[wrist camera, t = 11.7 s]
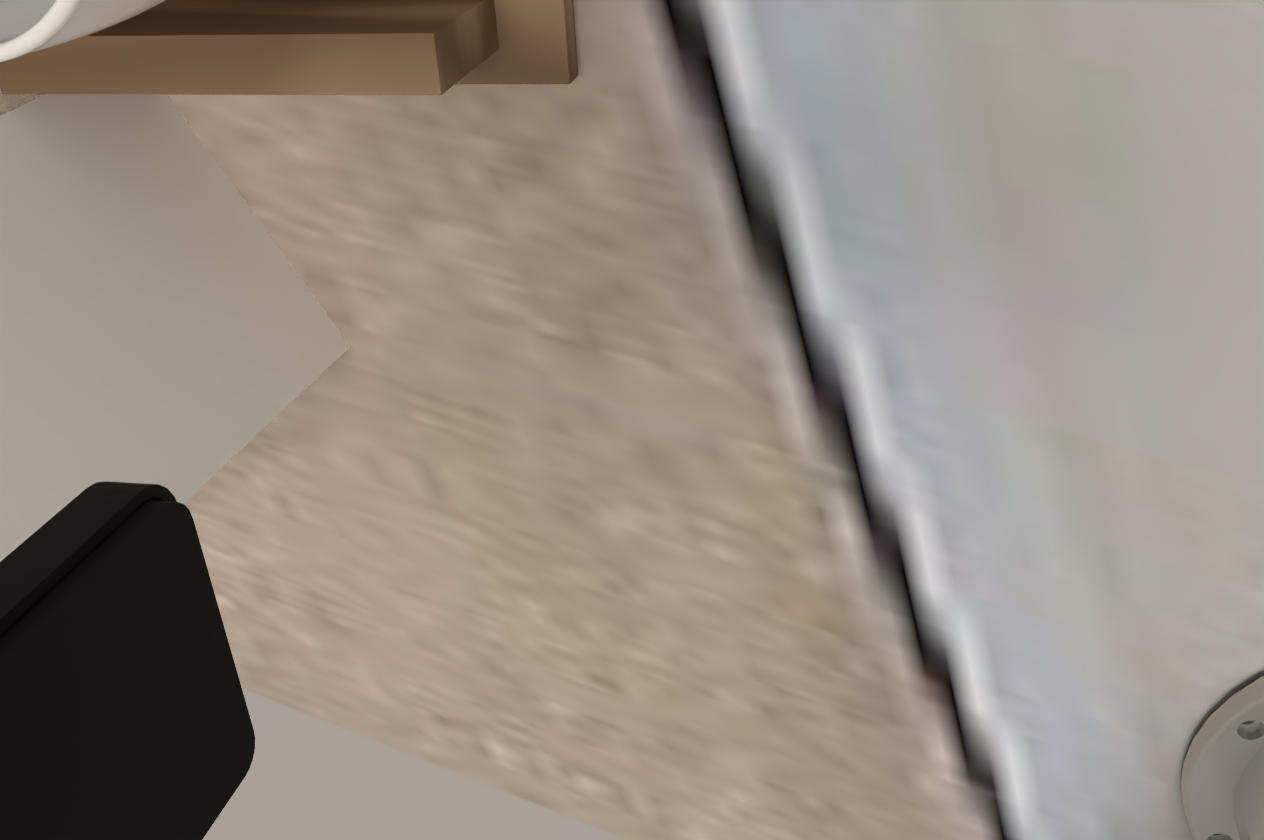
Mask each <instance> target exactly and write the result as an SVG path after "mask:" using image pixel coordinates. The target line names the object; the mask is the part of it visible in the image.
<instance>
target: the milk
mask: <svg viewBox="0 0 1264 840" xmlns="http://www.w3.org/2000/svg"><path fill="white" fill-rule="evenodd" d="M350 347H351V346H350V345H349V344H348V342H347V341H346V339H345V338H344V337H343V335H342V334H341V333H340V331H339V330H338V328H337V327H336V326H335V324H334V323H333V322H332V320H331V319H330V318H329V316H328V315H327V313H326V312H325V311H324V309H323V308H322V307H321V305H320V304H319V302H318V301H317V300H316V298H315V297H314V296H313V294H312V293H311V291H310V290H309V289H308V287H307V286H306V285H305V283H304V282H303V280H302V279H301V278H300V276H299V275H298V274H297V272H296V271H295V269H294V268H293V267H292V265H291V264H290V263H289V261H288V260H287V258H286V257H285V256H284V254H283V253H282V252H281V250H280V249H279V247H278V246H277V245H276V243H275V242H274V241H273V239H272V238H271V236H270V235H269V234H268V232H267V231H266V230H265V228H264V227H263V225H262V224H261V223H260V221H259V220H258V219H257V217H256V216H255V214H254V213H253V212H252V210H251V209H250V208H249V206H248V205H247V203H246V202H245V201H244V199H243V198H242V197H241V195H240V194H239V192H238V191H237V190H236V188H235V187H234V186H233V184H232V183H231V181H230V180H229V179H228V177H227V176H226V175H225V173H224V172H223V170H222V169H221V168H220V166H219V165H218V164H217V162H216V161H215V159H214V158H213V157H212V155H211V154H210V153H209V151H208V150H207V148H206V147H205V146H204V144H203V143H202V142H201V140H200V139H199V137H198V136H197V135H196V133H195V132H194V131H193V129H192V128H191V126H190V125H189V124H188V122H187V121H186V120H185V118H184V117H183V115H182V114H181V113H180V111H179V110H178V109H177V107H176V106H175V104H174V103H173V102H172V100H171V99H170V98H169V96H168V95H167V94H44V95H42V96H40V97H38V98H36V99H34V100H32V101H30V102H28V103H26V104H24V105H22V106H20V107H18V108H15V109H13V110H11V111H9V112H7V113H5V114H3V115H1V116H0V562H1V561H2V560H3V559H4V558H5V557H6V556H8V555H9V554H10V553H11V552H12V551H14V550H15V549H16V548H17V547H18V546H19V545H21V544H22V543H23V542H24V541H25V540H26V539H28V538H29V537H30V536H31V535H32V534H33V533H35V532H36V531H37V530H38V529H39V528H40V527H42V526H43V525H44V524H45V523H46V522H47V521H49V520H50V519H51V518H52V517H53V516H55V515H56V514H57V513H58V512H59V511H60V510H62V509H63V508H64V507H65V506H66V505H67V504H69V503H70V502H71V501H72V500H73V499H74V498H76V497H77V496H78V495H79V494H80V493H81V492H83V491H84V490H85V489H86V488H88V487H89V486H91V485H93V484H94V483H96V482H105V481H108V482H125V483H142V484H159V485H161V486H163V487H166V488H168V489H169V491H170V492H171V493H172V494H173V495H174V496H175V499H176V501H177V502H179V503H182V504H184V503H185V502H186V501H187V500H188V499H189V498H191V497H192V496H193V495H194V494H195V493H196V492H197V491H198V490H199V489H200V488H201V487H202V486H203V485H204V484H205V483H206V482H208V481H209V480H210V479H211V478H212V477H213V476H214V475H215V474H216V473H217V472H218V471H219V470H220V469H221V468H222V467H223V466H225V465H226V464H227V463H228V462H229V461H230V460H231V459H232V458H233V457H234V456H235V455H236V454H237V453H238V452H239V451H240V450H242V449H243V448H244V447H245V446H246V445H247V444H248V443H249V442H250V441H251V440H252V439H253V438H254V437H255V436H256V435H257V434H259V433H260V432H261V431H262V430H263V429H264V428H265V427H266V426H267V425H268V424H269V423H270V422H271V421H272V420H273V419H274V418H275V417H277V416H278V415H279V414H280V413H281V412H282V411H283V410H284V409H285V408H286V407H287V406H288V405H289V404H290V403H291V402H292V401H294V400H295V399H296V398H297V397H298V396H299V395H300V394H301V393H302V392H303V391H304V390H305V389H306V388H307V387H308V386H309V385H311V384H312V383H313V382H314V381H315V380H316V379H317V378H318V377H319V376H320V375H321V374H322V373H323V372H324V371H325V370H326V369H328V368H329V367H330V366H331V365H332V364H333V363H334V362H335V361H336V360H337V359H338V358H339V357H340V356H341V355H342V354H343V353H345V352H346V351H347V350H348V349H349V348H350Z"/></svg>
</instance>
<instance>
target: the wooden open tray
mask: <svg viewBox="0 0 1264 840" xmlns="http://www.w3.org/2000/svg"><path fill="white" fill-rule="evenodd" d="M577 76H578V71H577V57H576V43H575V29H574V15H573V1H572V0H167V1H165V2H163V3H161V4H159V5H157V6H155V7H153V8H152V9H149V10H147V11H145V12H143V13H141V14H139V15H137V16H134V17H132V18H130V19H127V20H125V21H123V22H121V23H118V24H116V25H113V26H111V27H109V28H106V29H104V30H101V31H98V32H96V33H93V34H90V35H88V36H85V37H82V38H79V39H76V40H73V41H70V42H67V43H63V44H60V45H57V46H53V47H50V48H47V49H43V50H40V51H36V52H33V53H29V54H26V55H22V56H20V57H17V58H14V59H11V60H7V61H4V62H0V88H1V91H2V94H242V95H442V94H443V93H444V92H446V91H447V90H448V89H449V88H451V87H452V86H453V85H454V84H570V83H571V82H572V81H573V80H574V79H575V78H576V77H577Z"/></svg>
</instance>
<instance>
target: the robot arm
mask: <svg viewBox="0 0 1264 840" xmlns="http://www.w3.org/2000/svg"><path fill="white" fill-rule="evenodd" d="M254 749H255V736H254V730H253V726H252V723H251V719H250V716H249V713H248V709H247V706H246V702H245V699H244V695H243V692H242V688H241V685H240V681H239V678H238V674H237V671H236V667H235V664H234V660H233V657H232V653H231V650H230V646H229V643H228V639H227V636H226V632H225V629H224V625H223V622H222V618H221V615H220V612H219V608H218V605H217V601H216V598H215V594H214V591H213V587H212V584H211V580H210V577H209V573H208V570H207V566H206V563H205V559H204V556H203V552H202V549H201V545H200V542H199V538H198V535H197V531H196V528H195V524H194V521H193V518H192V516H191V513H190V511H189V509H188V508H187V507H186V506H185V505H184V504H182V503H179V502H177V501H176V499H175V496H174V495H173V494H172V493H171V492H170V491H169V489H168V488H166V487H163V486H161V485H159V484H142V483H125V482H108V481H105V482H96V483H94V484H93V485H91V486H89V487H88V488H86V489H85V490H84V491H83V492H81V493H80V494H79V495H78V496H77V497H76V498H74V499H73V500H72V501H71V502H70V503H69V504H67V505H66V506H65V507H64V508H63V509H62V510H60V511H59V512H58V513H57V514H56V515H55V516H53V517H52V518H51V519H50V520H49V521H47V522H46V523H45V524H44V525H43V526H42V527H40V528H39V529H38V530H37V531H36V532H35V533H33V534H32V535H31V536H30V537H29V538H28V539H26V540H25V541H24V542H23V543H22V544H21V545H19V546H18V547H17V548H16V549H15V550H14V551H12V552H11V553H10V554H9V555H8V556H6V557H5V558H4V559H3V560H2V561H1V562H0V840H202V839H203V838H204V836H205V835H206V833H207V831H208V830H209V829H210V827H211V826H212V824H213V823H214V821H215V820H216V818H217V817H218V815H219V814H220V813H221V811H222V809H223V808H224V807H225V805H226V804H227V802H228V801H229V799H230V798H231V796H232V795H233V793H234V792H235V790H236V789H237V788H238V786H239V785H240V783H241V782H242V780H243V779H244V777H245V776H246V774H247V772H248V770H249V768H250V765H251V762H252V759H253V754H254ZM1180 789H1181V794H1182V800H1183V805H1184V811H1185V815H1186V818H1187V821H1188V824H1189V827H1190V830H1191V833H1192V836H1193V839H1194V840H1264V676H1262V677H1260V678H1259V679H1257V680H1256V681H1254V682H1253V683H1251V684H1249V685H1248V686H1246V687H1245V688H1243V689H1242V690H1240V691H1239V692H1237V693H1235V694H1234V695H1232V696H1231V697H1230V698H1229V699H1228V700H1227V701H1226V702H1225V703H1224V704H1223V705H1221V706H1220V707H1219V708H1218V709H1217V710H1216V711H1215V712H1214V713H1213V714H1212V715H1211V716H1210V717H1209V718H1208V719H1207V720H1206V722H1205V723H1204V725H1203V726H1202V728H1201V729H1200V730H1199V732H1198V733H1197V735H1196V736H1195V737H1194V739H1193V740H1192V743H1191V745H1190V748H1189V750H1188V753H1187V755H1186V758H1185V760H1184V763H1183V769H1182V778H1181V787H1180Z"/></svg>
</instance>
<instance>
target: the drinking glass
mask: <svg viewBox="0 0 1264 840" xmlns="http://www.w3.org/2000/svg"><path fill="white" fill-rule="evenodd" d="M165 1H167V0H0V62H4V61H7V60H11V59H14V58H17V57H20V56H22V55H26V54H29V53H33V52H36V51H40V50H43V49H47V48H50V47H53V46H57V45H60V44H63V43H67V42H70V41H73V40H76V39H79V38H82V37H85V36H88V35H90V34H93V33H96V32H98V31H101V30H104V29H106V28H109V27H111V26H113V25H116V24H118V23H121V22H123V21H125V20H127V19H130V18H132V17H134V16H137V15H139V14H141V13H143V12H145V11H147V10H149V9H152V8H153V7H155V6H157V5H159V4H161V3H163V2H165Z"/></svg>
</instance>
